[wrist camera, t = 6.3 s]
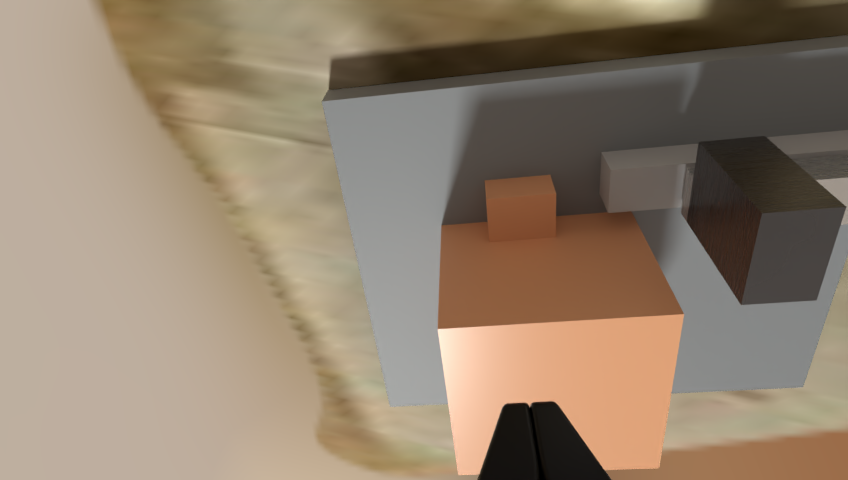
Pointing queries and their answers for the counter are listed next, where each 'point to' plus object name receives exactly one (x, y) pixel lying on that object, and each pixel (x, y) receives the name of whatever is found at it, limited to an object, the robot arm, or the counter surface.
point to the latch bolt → (766, 216)
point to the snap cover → (556, 325)
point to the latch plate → (585, 188)
